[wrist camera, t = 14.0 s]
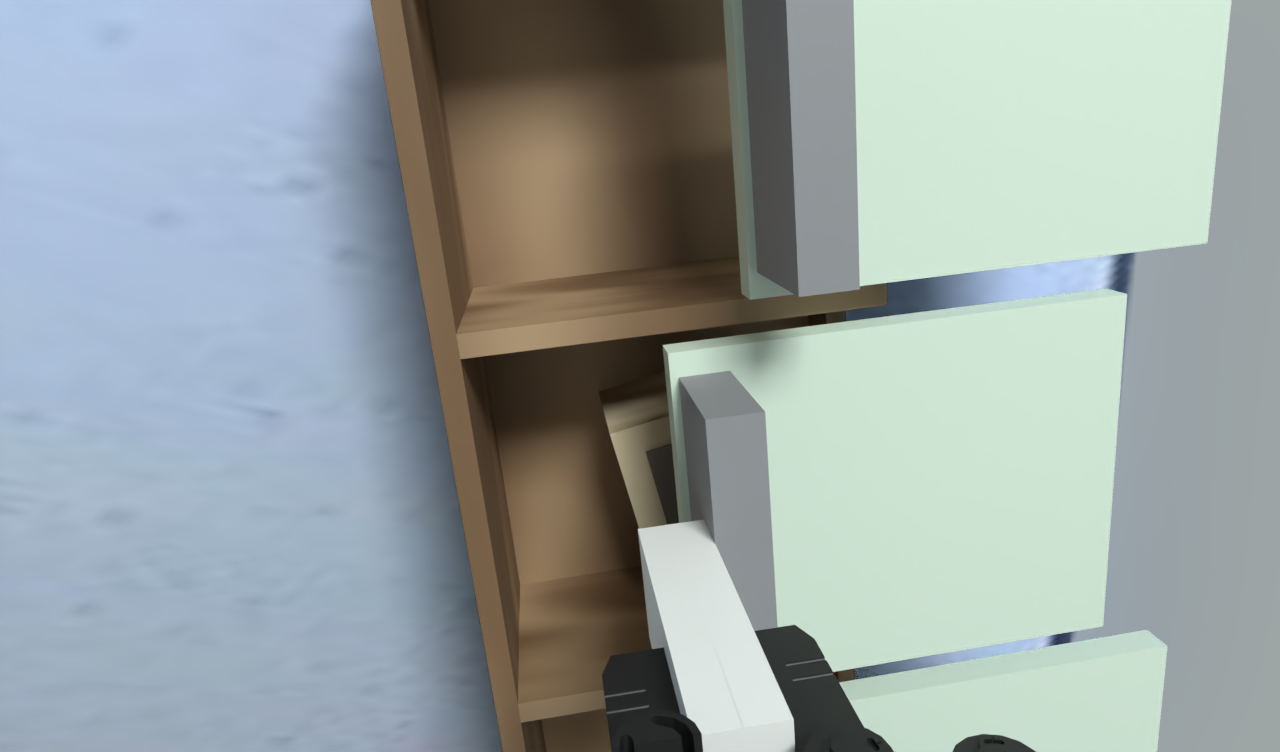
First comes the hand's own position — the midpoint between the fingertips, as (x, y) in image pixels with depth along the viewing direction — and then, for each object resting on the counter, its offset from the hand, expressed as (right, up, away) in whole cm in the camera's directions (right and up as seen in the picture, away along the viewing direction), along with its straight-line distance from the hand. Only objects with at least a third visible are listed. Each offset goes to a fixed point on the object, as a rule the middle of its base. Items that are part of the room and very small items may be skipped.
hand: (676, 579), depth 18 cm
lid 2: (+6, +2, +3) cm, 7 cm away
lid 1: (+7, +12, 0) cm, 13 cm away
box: (0, +3, +10) cm, 10 cm away
